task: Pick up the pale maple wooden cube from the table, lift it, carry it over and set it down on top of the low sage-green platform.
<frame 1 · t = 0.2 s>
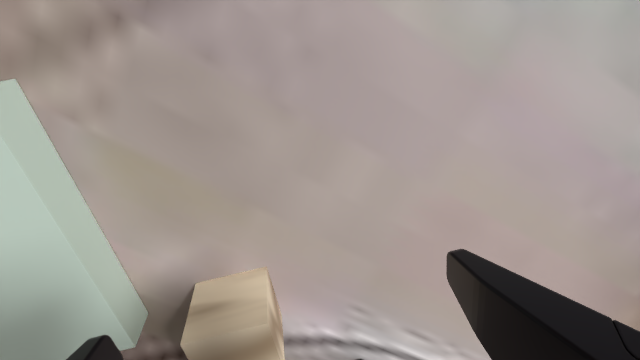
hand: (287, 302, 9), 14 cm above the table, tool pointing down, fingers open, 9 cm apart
maple cube: (241, 299, 27), on the table
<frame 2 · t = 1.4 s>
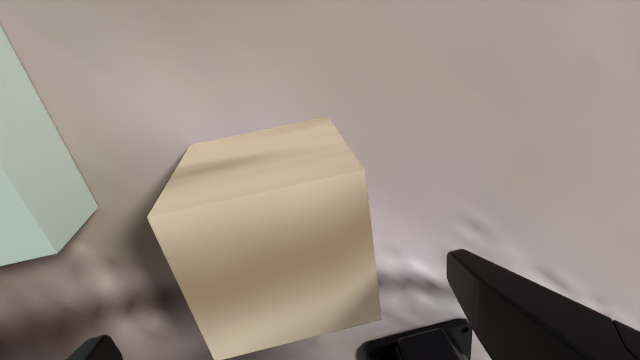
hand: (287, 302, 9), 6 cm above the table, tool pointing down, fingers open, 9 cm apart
maple cube: (274, 190, 14), on the table
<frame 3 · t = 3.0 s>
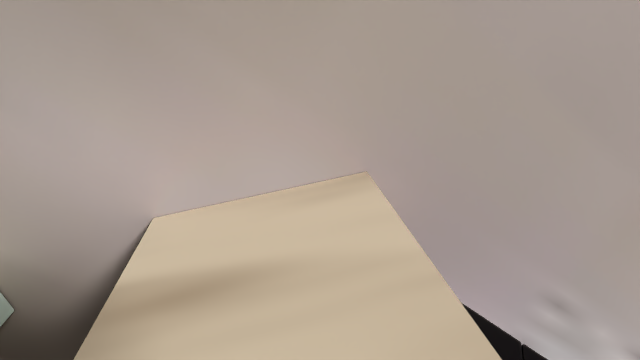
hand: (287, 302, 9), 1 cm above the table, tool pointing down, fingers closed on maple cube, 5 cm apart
maple cube: (284, 275, 10), on the table, touching gripper
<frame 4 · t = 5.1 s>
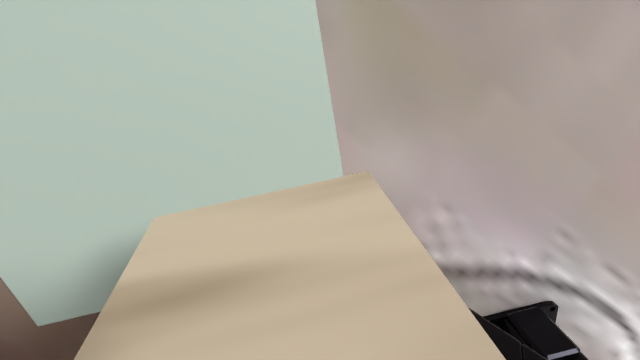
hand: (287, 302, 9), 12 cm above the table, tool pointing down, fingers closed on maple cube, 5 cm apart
platform: (156, 121, 18), on the table
maple cube: (285, 275, 10), point 11 cm above the table, touching gripper
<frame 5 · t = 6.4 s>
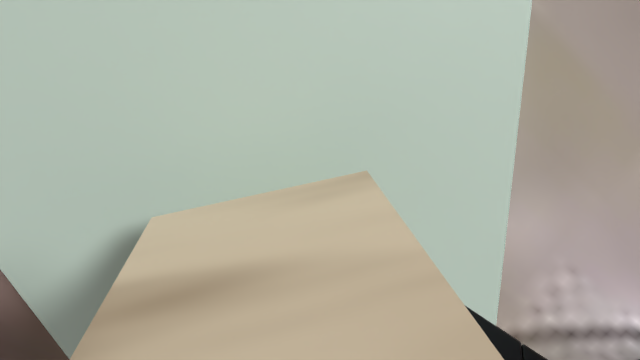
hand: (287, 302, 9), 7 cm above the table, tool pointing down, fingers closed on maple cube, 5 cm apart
platform: (274, 191, 14), on the table
maple cube: (284, 275, 10), point 6 cm above the table, touching gripper
when the fingers open (5 cm above the table, at t = 7.4 s): maple cube drops 1 cm, resting on platform.
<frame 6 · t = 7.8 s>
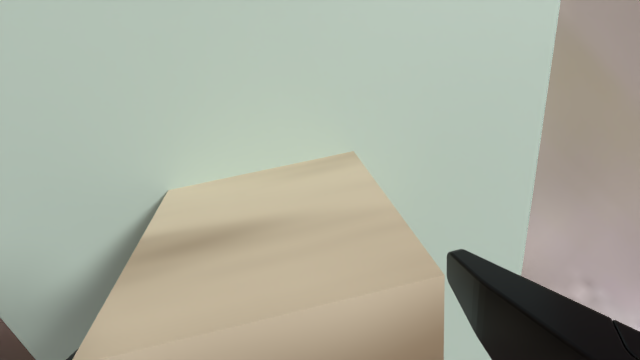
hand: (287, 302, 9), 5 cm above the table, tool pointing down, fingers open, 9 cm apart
platform: (277, 202, 14), on the table
maple cube: (282, 244, 11), point 3 cm above the table, touching platform
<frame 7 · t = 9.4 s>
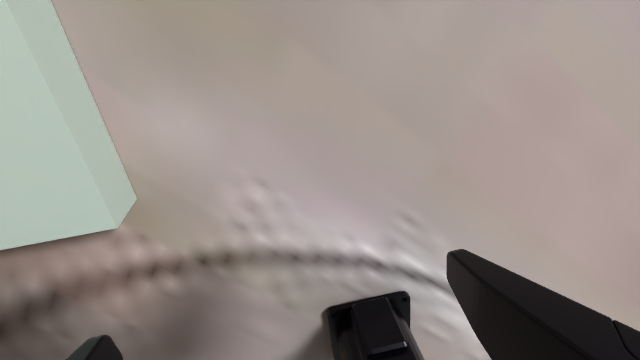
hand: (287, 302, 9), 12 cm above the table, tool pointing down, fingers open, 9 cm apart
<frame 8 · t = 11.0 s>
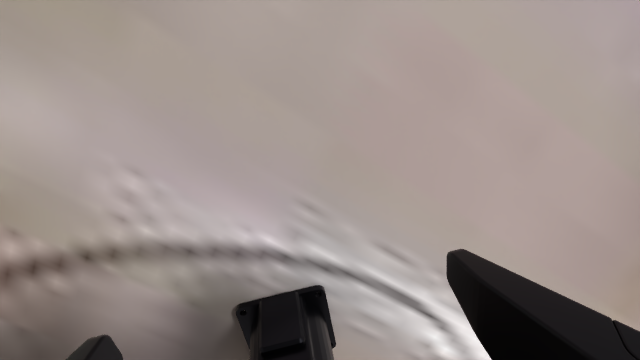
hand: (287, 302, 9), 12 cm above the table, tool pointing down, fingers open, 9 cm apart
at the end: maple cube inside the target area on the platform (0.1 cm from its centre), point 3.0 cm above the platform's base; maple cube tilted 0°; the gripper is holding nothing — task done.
